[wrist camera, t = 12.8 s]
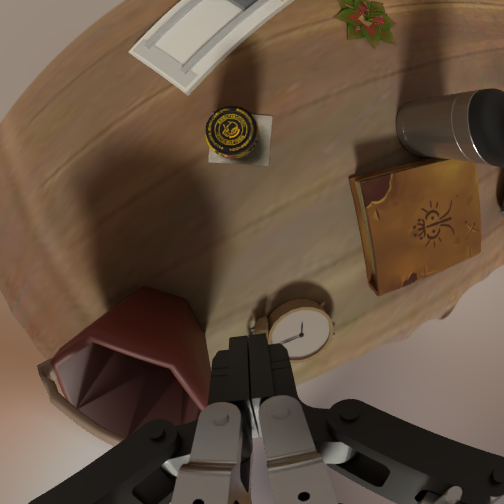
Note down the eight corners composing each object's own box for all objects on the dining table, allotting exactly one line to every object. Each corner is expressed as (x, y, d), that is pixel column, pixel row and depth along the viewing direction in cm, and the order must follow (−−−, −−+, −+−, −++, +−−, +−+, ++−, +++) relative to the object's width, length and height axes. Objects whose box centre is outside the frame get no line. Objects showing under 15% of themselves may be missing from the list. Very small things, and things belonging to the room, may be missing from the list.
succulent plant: (339, 48, 34) (349, 39, 30) (323, -9, 30) (330, -22, 26) (403, 54, 34) (417, 48, 30) (386, -1, 30) (397, -11, 26)
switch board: (188, 95, 36) (184, 91, 33) (132, 55, 33) (126, 50, 30) (297, -2, 31) (300, -11, 28) (240, -37, 28) (240, -46, 25)
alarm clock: (340, 346, 47) (263, 383, 46) (329, 332, 52) (257, 367, 51) (326, 295, 44) (238, 336, 43) (314, 283, 49) (233, 321, 47)
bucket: (79, 318, 47) (13, 407, 24) (137, 235, 42) (48, 321, 19) (177, 390, 53) (156, 494, 30) (251, 330, 49) (260, 455, 25)
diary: (367, 284, 47) (380, 299, 42) (346, 177, 41) (361, 181, 36) (463, 246, 46) (481, 256, 40) (454, 152, 40) (475, 154, 34)
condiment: (211, 112, 37) (200, 96, 26) (272, 116, 38) (284, 101, 26) (208, 162, 39) (195, 165, 28) (268, 165, 40) (279, 170, 29)
